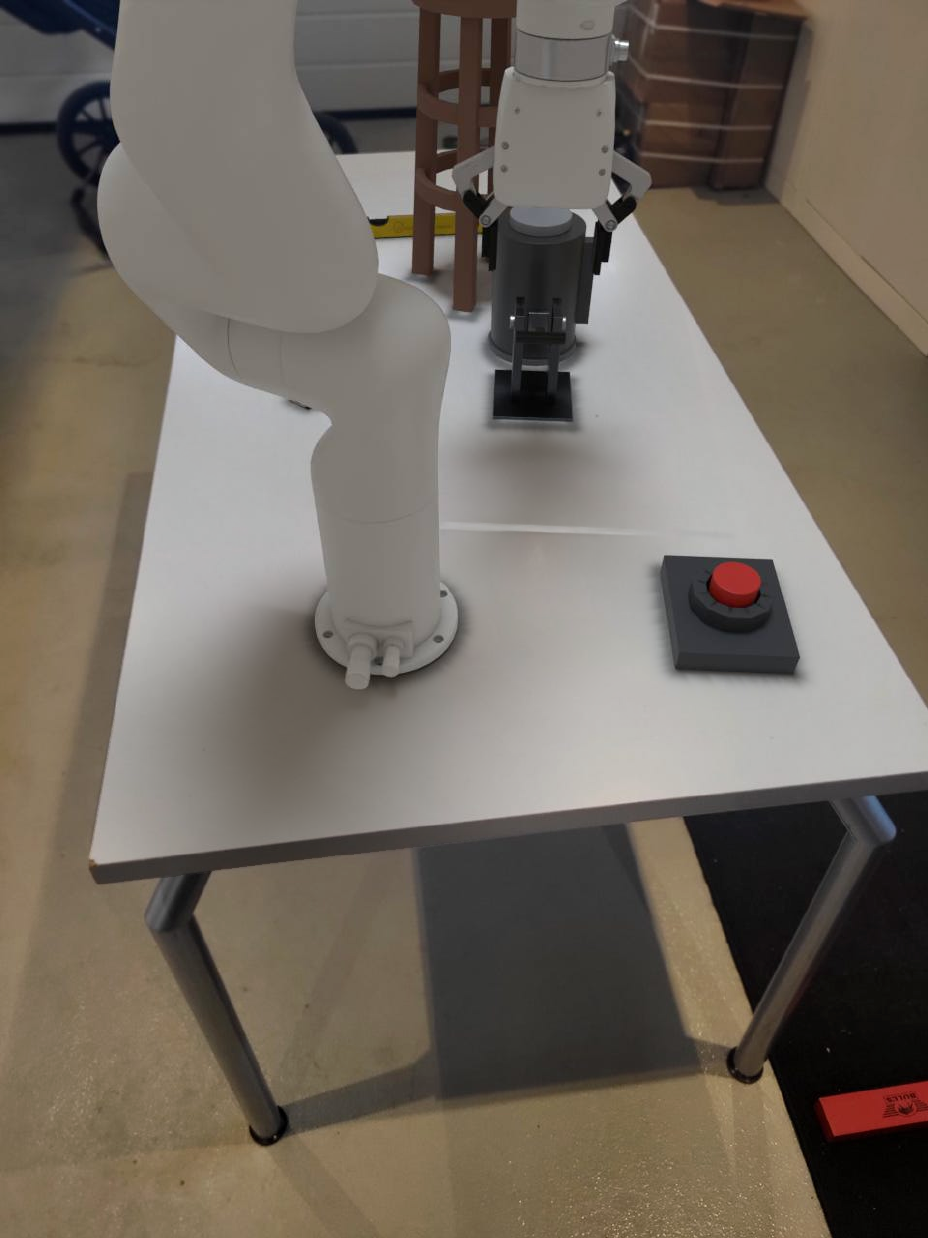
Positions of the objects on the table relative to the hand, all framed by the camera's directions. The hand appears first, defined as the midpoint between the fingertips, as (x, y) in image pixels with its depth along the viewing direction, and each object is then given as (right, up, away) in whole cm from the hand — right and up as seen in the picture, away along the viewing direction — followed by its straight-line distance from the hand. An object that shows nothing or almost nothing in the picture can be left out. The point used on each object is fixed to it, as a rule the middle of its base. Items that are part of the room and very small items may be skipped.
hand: (543, 266), depth 82 cm
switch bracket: (0, -8, +20) cm, 22 cm away
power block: (+16, -33, -3) cm, 37 cm away
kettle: (+2, +2, +29) cm, 29 cm away
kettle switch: (0, -4, +10) cm, 11 cm away
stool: (-5, +14, +41) cm, 43 cm away
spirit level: (-20, +25, +51) cm, 60 cm away
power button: (+16, -31, -6) cm, 35 cm away
